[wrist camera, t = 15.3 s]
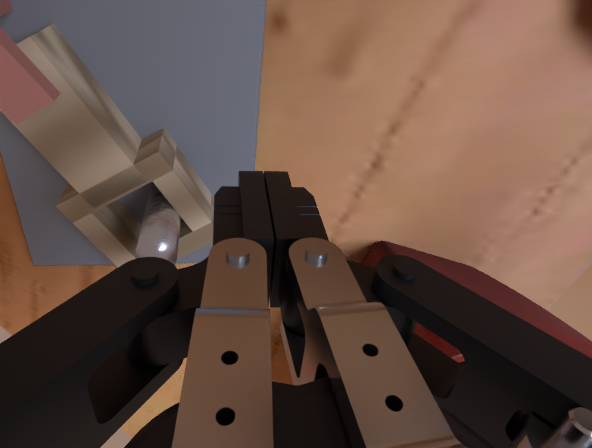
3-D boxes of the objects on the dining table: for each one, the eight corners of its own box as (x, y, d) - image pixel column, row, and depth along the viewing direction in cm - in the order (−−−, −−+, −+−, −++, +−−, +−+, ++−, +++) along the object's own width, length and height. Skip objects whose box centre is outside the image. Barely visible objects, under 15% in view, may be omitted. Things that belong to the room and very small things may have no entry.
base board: (274, -161, 22) (277, -165, 22) (247, 255, 38) (248, 261, 37) (-100, -233, 19) (-114, -240, 18) (37, 258, 34) (33, 265, 33)
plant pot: (364, 197, 36) (458, 355, 23) (519, 249, 43) (663, 393, 30) (278, 343, 45) (309, 520, 31) (419, 366, 52) (494, 520, 38)
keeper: (-1, -41, 23) (-71, -33, 17) (87, 64, 27) (53, 100, 21) (-34, -17, 24) (-114, -1, 18) (57, 84, 27) (16, 125, 21)
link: (-28, 71, 25) (-62, 91, 22) (79, 8, 24) (59, 19, 21) (139, 248, 34) (132, 281, 31) (221, 207, 33) (222, 237, 30)
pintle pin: (182, 177, 31) (176, 240, 25) (183, 204, 33) (177, 271, 26) (149, 176, 31) (133, 240, 24) (151, 204, 32) (136, 272, 26)
